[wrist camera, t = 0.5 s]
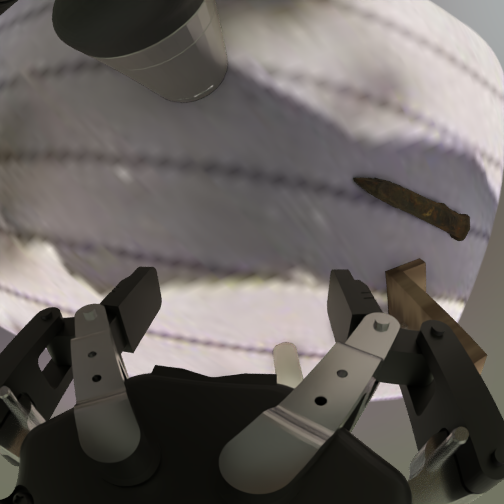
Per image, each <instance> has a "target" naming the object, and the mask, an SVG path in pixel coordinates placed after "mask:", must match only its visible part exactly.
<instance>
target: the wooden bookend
mask: <svg viewBox="0 0 504 504" xmlns="http://www.w3.org/2000/svg"><path fill="white" fill-rule="evenodd" d="M385 273H386V284H387V297H388V314H389V315H391V316H393V317H394V318H395V319H397V321H398V322H399V324H402V323H404V322H405V324H406V325H407V326H408V330H415V331H419V330H420V327H421V324H422V323H423V322H425V321H427V320H437V321H441V322H443V323H445V324H447V325H448V326H449V327H450V328H451V329H452V330H453V332H454V333H455V335H456V336H457V338H458V339H459V341H460V342H461V344H462V346H463V347H464V349H465V350H466V352H467V354H468V355H469V357H470V358H471V360H472V362H473V363H474V365H475V367H476V369H477V370H478V372H479V374H480V375H481V372H482V369H483V366H484V363H485V360H486V357H487V354H486V353H485V352H484V351H483V350H482V349H481V348H480V347H479V346H478V344H477V343H476V342H475V341H474V340H473V339H472V338H471V337H470V336H469V335H468V334H467V333H466V332H465V331H464V330H463V329H462V327H460V326H459V324H458V323H457V322H456V321H455V320H454V319H453V318H452V317H451V316H450V315H449V314H448V313H447V312H446V311H445V310H444V309H443V308H441V307H440V306H439V305H438V304H437V303H436V302H435V301H434V300H433V299H432V298H431V297H430V296H429V295H428V294H427V293H426V263H425V262H424V261H423V260H421V259H417V260H414V261H412V262H409V263H407V264H404V265H401V266H399V267H396V268H393V269H391V270H388V271H385Z"/></svg>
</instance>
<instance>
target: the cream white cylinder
mask: <svg viewBox="0 0 504 504" xmlns="http://www.w3.org/2000/svg"><path fill="white" fill-rule="evenodd" d="M273 357H274V365H275V373H276V374H277V383H278V384H283V385H286V386H289V387H292V388H294V389H295V388H296V387H297V386H298V385H299V384H300V383H301V382H302V381H303V375H302V371H301V367H300V362H299V358H298V354H297V350H296V347H295V346H294V345H293V344H291V343H287V342H286V343H281V344H278V345H277V346H276V347H275V348H274V350H273Z"/></svg>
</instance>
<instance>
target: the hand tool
mask: <svg viewBox="0 0 504 504" xmlns="http://www.w3.org/2000/svg"><path fill="white" fill-rule="evenodd" d="M353 179H354V181H355V182H356V183H357V184H358V185H359V186H360V187H362V188H363V189H364V190H366V192H367V193H369V194H371V195H373V196H374V197H376V198H378V199H380V200H382V201H384V202H386V203H388V204H390V205H391V206H393V207H395V208H399V209H401V210H403V211H405V212H407V213H409V214H412V215H414V216H416V217H418V218H420V219H422V220H424V221H426V222H428V223H430V224H432V225H434V226H436V227H438V228H440V229H442V230H444V231H446V232H447V233H450V236H451V237H452V238H454V239H455V240H457V241H463V240H464V239H465V237H466V236H467V234H468V231H469V230H470V217H469V216H468V215H467V214H458V213H457V212H455V211H452V210H451V209H449V208H448V207H447V206H446V205H445V204H444V203H436V202H434V201H432V200H430V199H428V198H425V197H423V196H421V195H419V194H417V193H414V192H412V191H410V190H408V189H406V188H404V187H402V186H400V185H397V184H394V183H392V182H389V181H386V180H381V179H377V178H374V179H372V178H353Z"/></svg>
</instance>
